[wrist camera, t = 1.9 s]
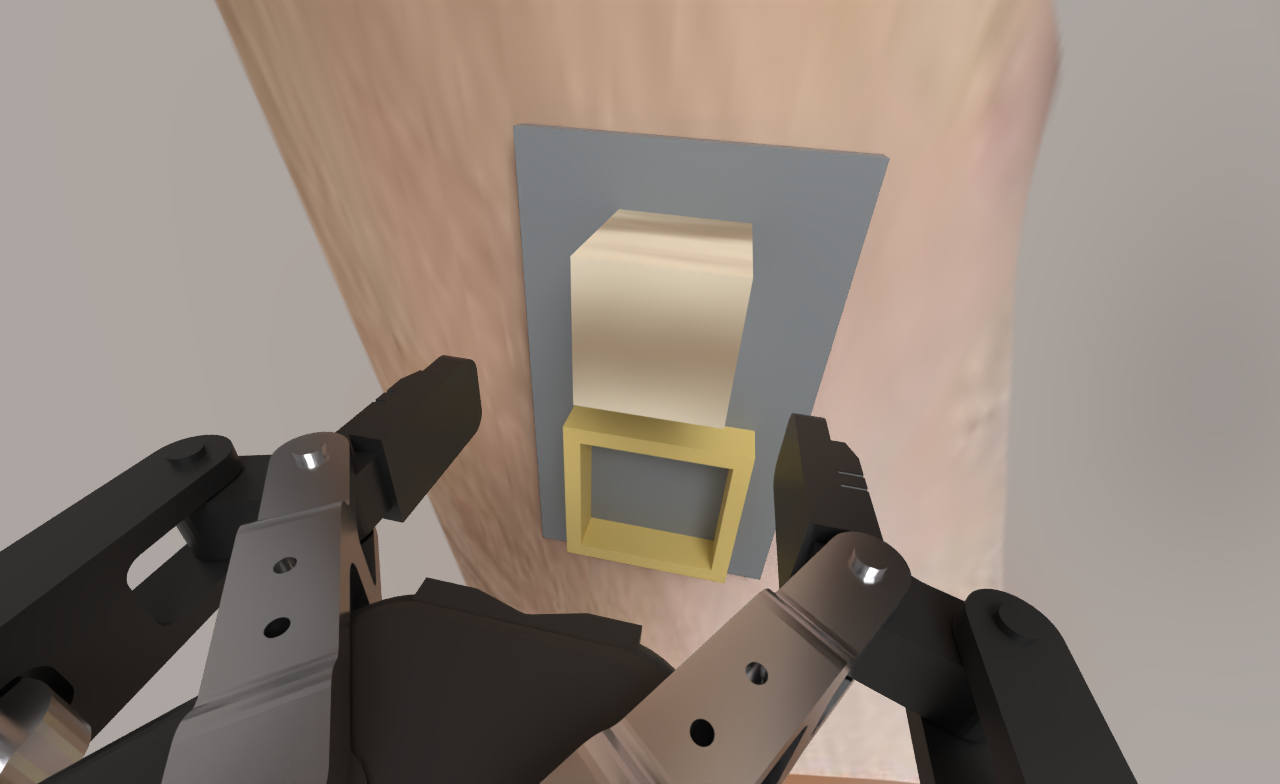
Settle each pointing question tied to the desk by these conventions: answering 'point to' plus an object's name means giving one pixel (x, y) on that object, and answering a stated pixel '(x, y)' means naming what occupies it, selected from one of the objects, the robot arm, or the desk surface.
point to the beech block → (660, 315)
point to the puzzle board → (768, 356)
